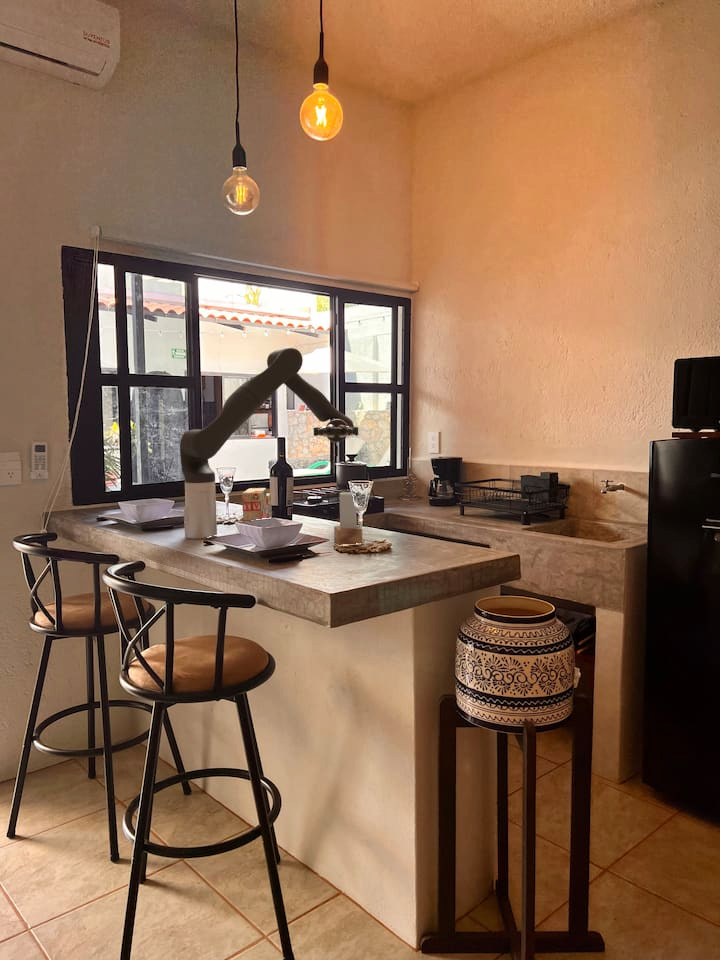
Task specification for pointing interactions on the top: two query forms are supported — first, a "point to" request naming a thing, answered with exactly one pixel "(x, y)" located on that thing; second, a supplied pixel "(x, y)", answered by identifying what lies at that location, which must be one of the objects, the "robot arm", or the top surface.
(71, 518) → the top surface
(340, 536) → the walnut base block
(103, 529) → the top surface
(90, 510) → the top surface
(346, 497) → the tall grey block
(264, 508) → the tan printed box
